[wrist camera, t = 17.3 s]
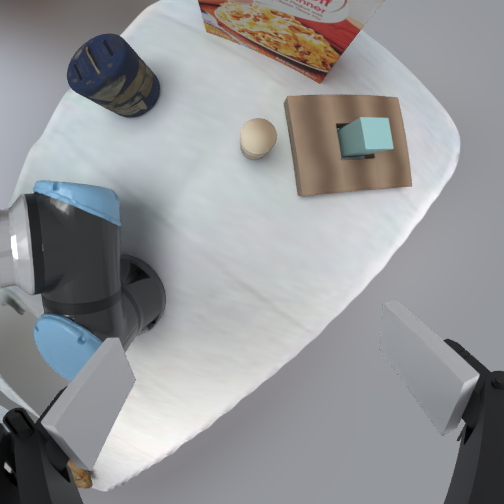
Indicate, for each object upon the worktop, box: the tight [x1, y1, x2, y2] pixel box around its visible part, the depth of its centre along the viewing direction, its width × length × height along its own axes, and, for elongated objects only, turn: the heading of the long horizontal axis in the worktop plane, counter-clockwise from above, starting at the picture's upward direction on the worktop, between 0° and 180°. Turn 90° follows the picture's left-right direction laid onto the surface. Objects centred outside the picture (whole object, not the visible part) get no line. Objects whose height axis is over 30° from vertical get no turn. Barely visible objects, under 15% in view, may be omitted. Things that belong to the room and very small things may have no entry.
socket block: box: [284, 95, 412, 196], centre depth 41 cm, size 20×16×4 cm
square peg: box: [337, 117, 394, 158], centre depth 37 cm, size 4×4×12 cm
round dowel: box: [240, 118, 277, 160], centre depth 37 cm, size 4×4×12 cm
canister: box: [67, 34, 159, 117], centre depth 31 cm, size 10×10×18 cm
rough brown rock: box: [67, 459, 93, 488], centre depth 58 cm, size 23×17×15 cm
